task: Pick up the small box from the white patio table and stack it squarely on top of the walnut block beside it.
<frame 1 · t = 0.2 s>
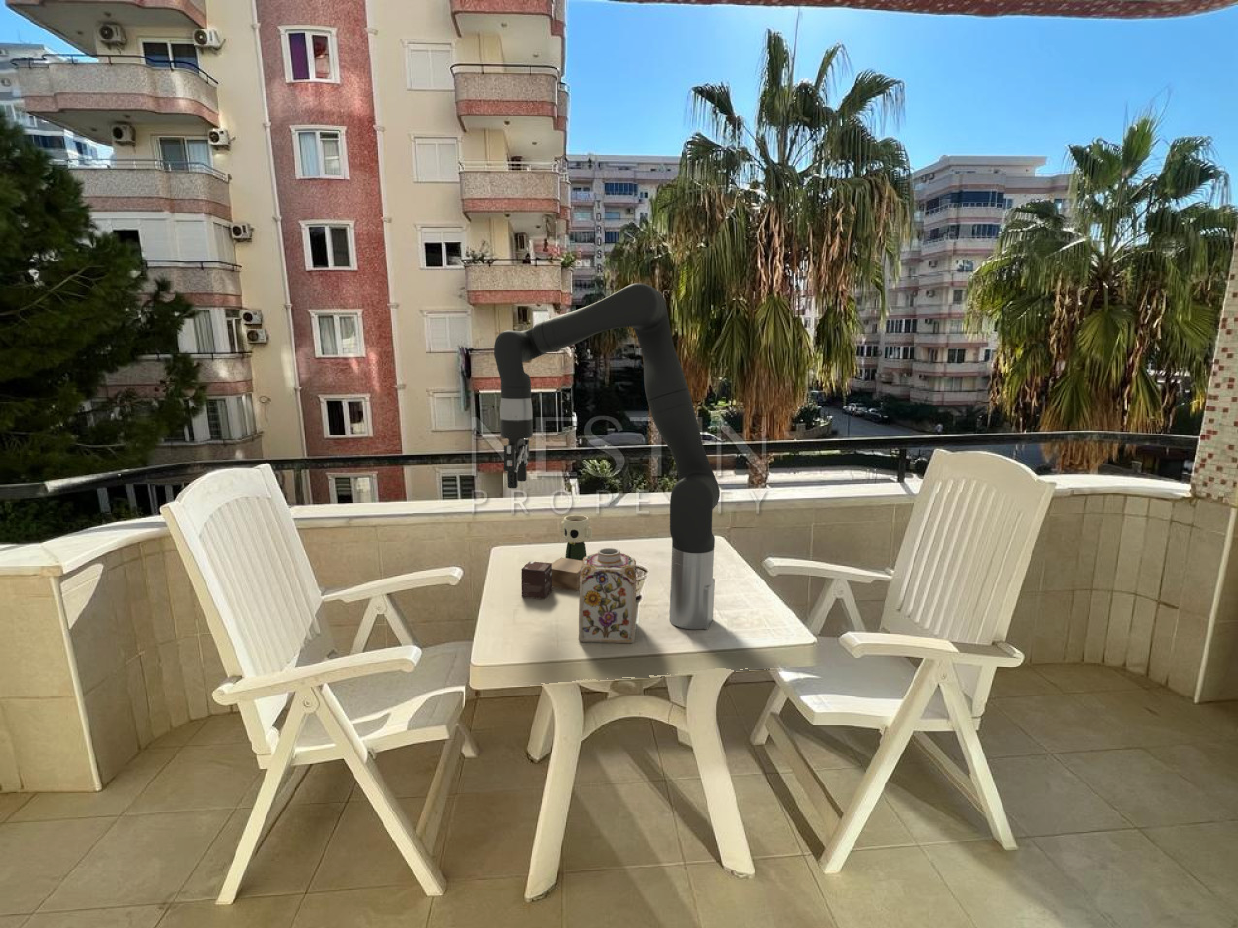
hand: (517, 484, 143), 27 cm above the table, tool pointing down, fingers open, 8 cm apart
character mug: (575, 562, 170), on the table
decorative jar: (607, 631, 127), on the table
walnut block: (568, 583, 155), on the table
box: (536, 594, 147), on the table
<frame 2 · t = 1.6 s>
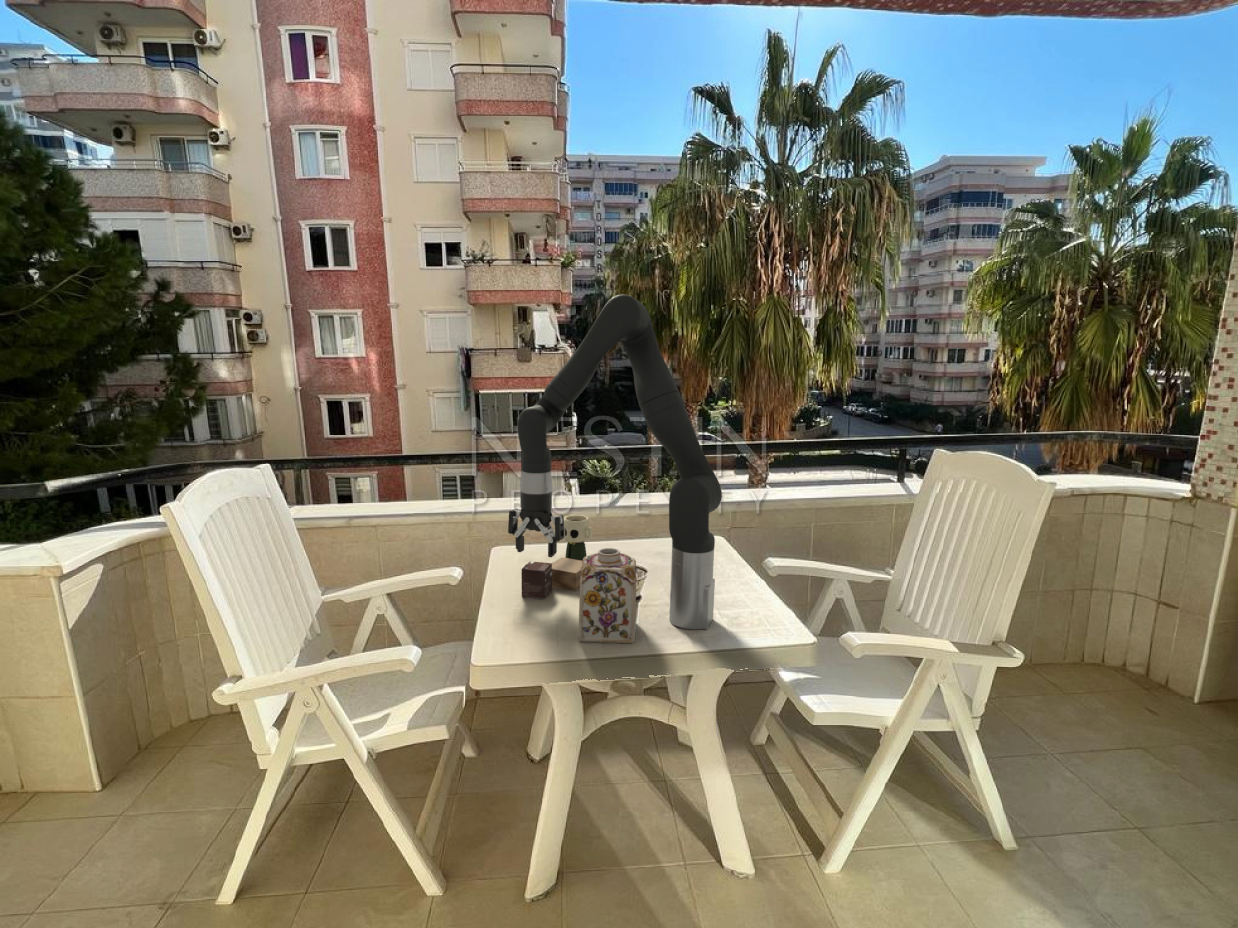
hand: (535, 553, 145), 10 cm above the table, tool pointing down, fingers open, 8 cm apart
nothing on the table moved.
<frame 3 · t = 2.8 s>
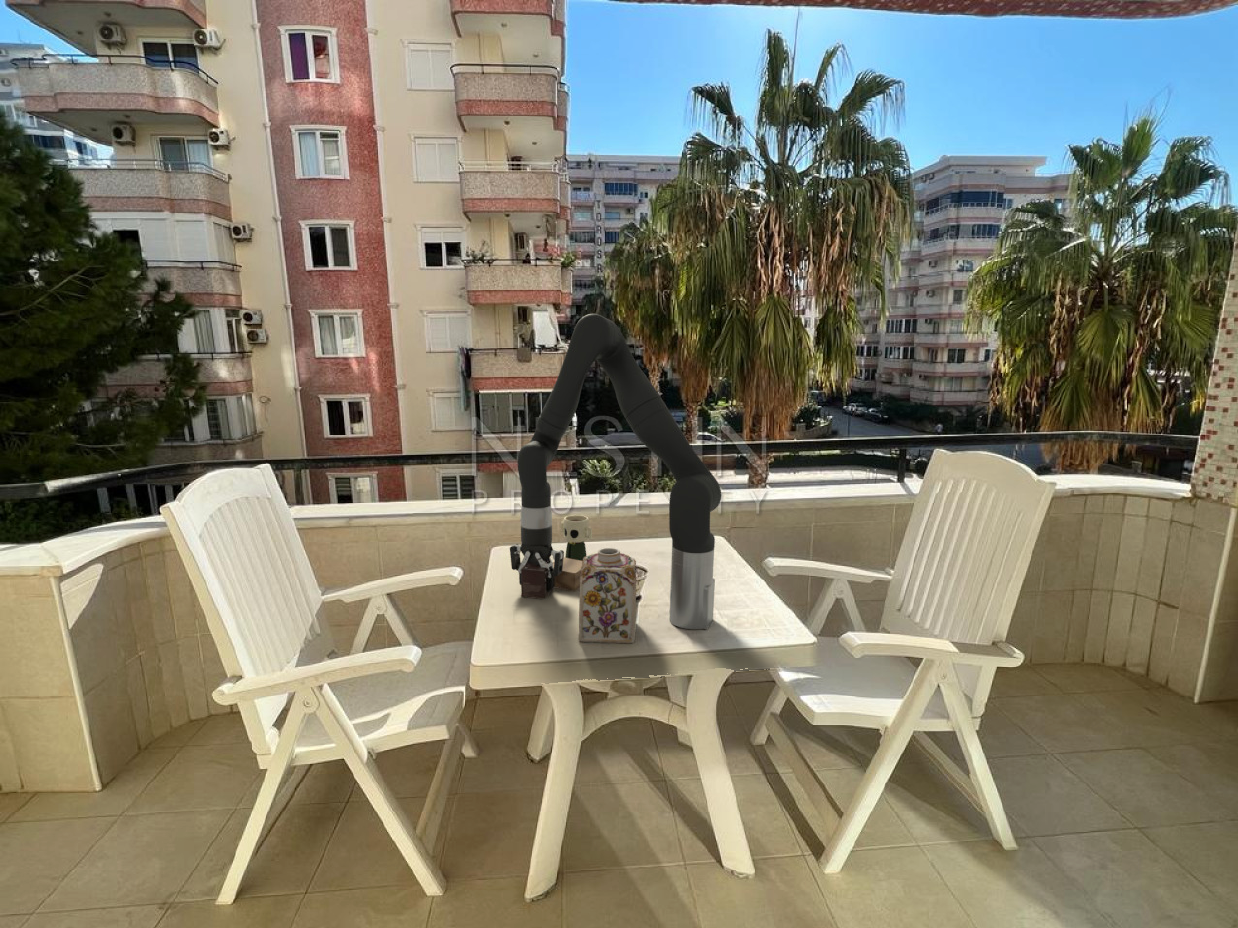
hand: (536, 588, 146), 1 cm above the table, tool pointing down, fingers closed on box, 6 cm apart
box: (536, 594, 147), on the table, touching gripper
everything else where it was.
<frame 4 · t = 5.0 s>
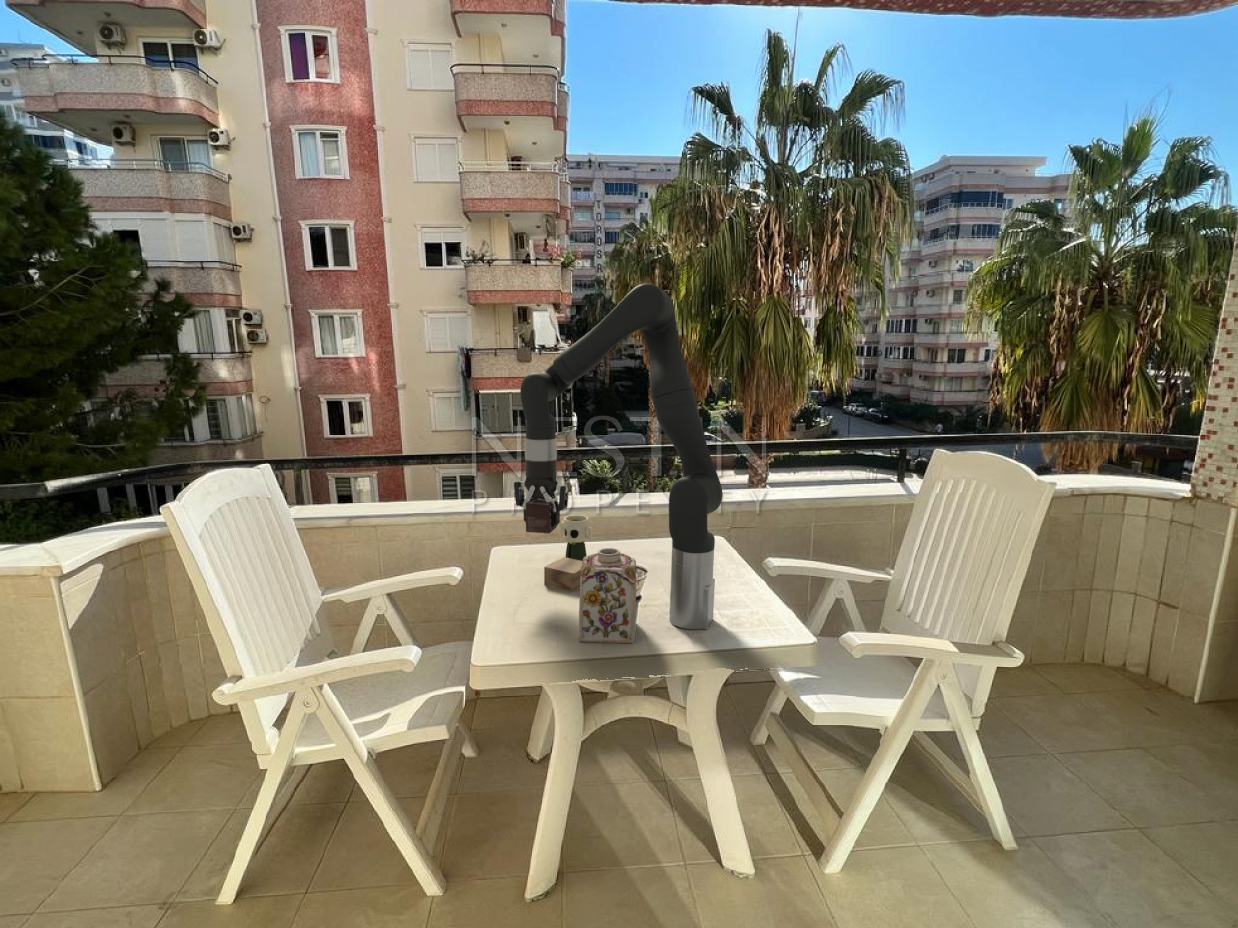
hand: (541, 524, 145), 17 cm above the table, tool pointing down, fingers closed on box, 6 cm apart
box: (541, 530, 145), point 16 cm above the table, touching gripper
everything else where it was.
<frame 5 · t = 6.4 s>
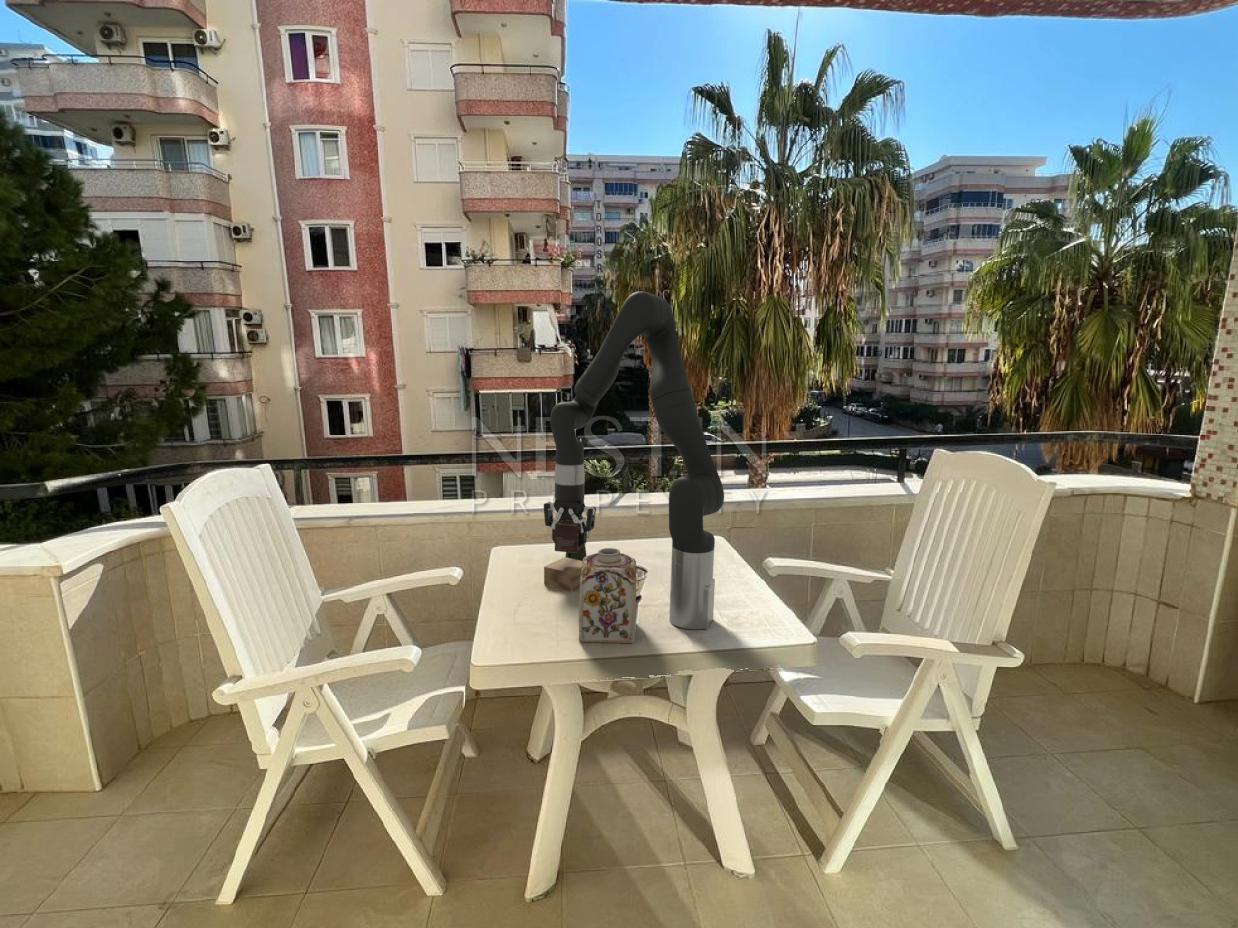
hand: (569, 543, 153), 10 cm above the table, tool pointing down, fingers closed on box, 6 cm apart
box: (568, 549, 153), point 9 cm above the table, touching gripper
everything else where it was.
when the fingers open (8 cm above the table, at t = 7.5 s): box drops 2 cm, point 4 cm above the table.
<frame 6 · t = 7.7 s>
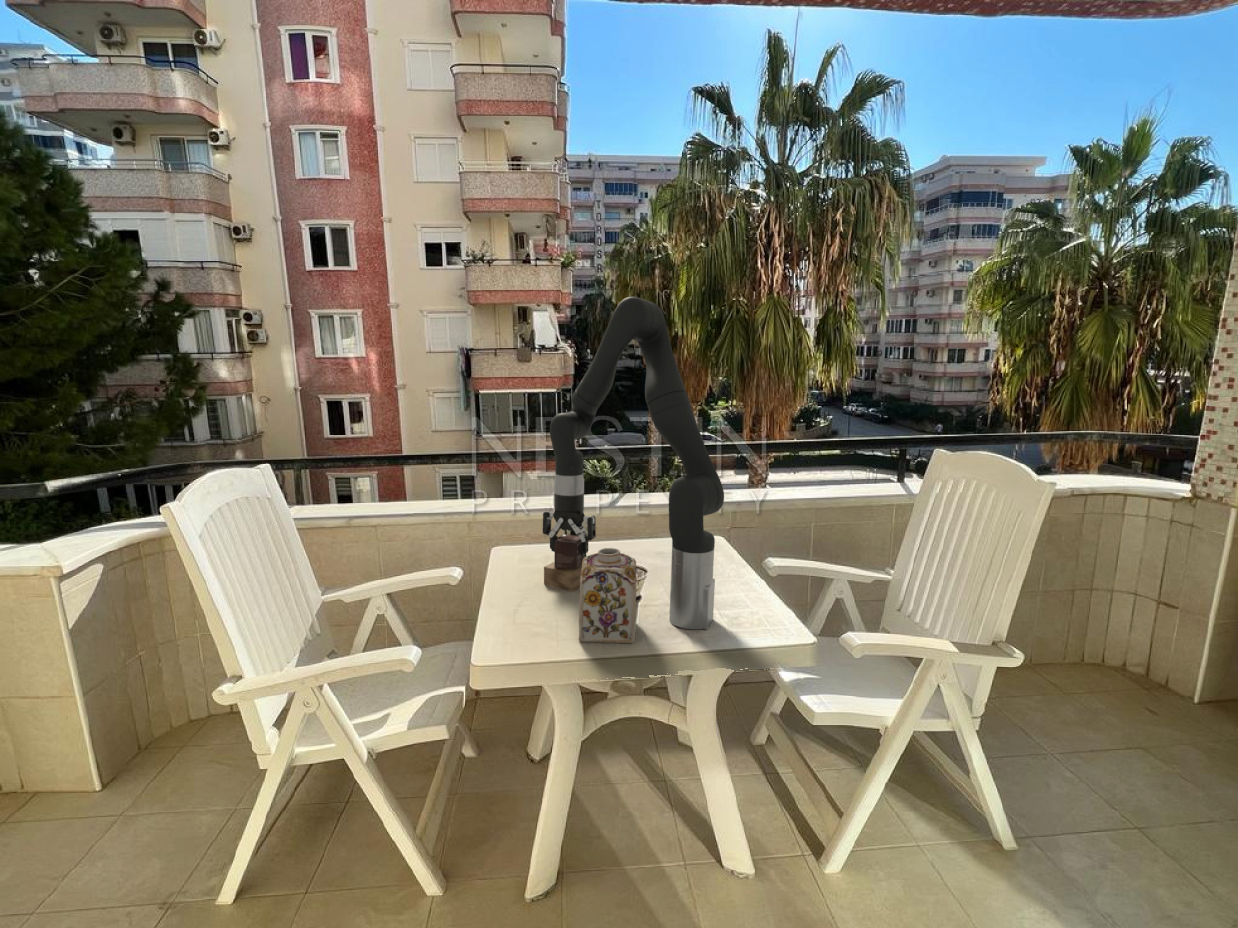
hand: (568, 552, 153), 8 cm above the table, tool pointing down, fingers open, 8 cm apart
box: (568, 566, 153), point 4 cm above the table
everything else where it was.
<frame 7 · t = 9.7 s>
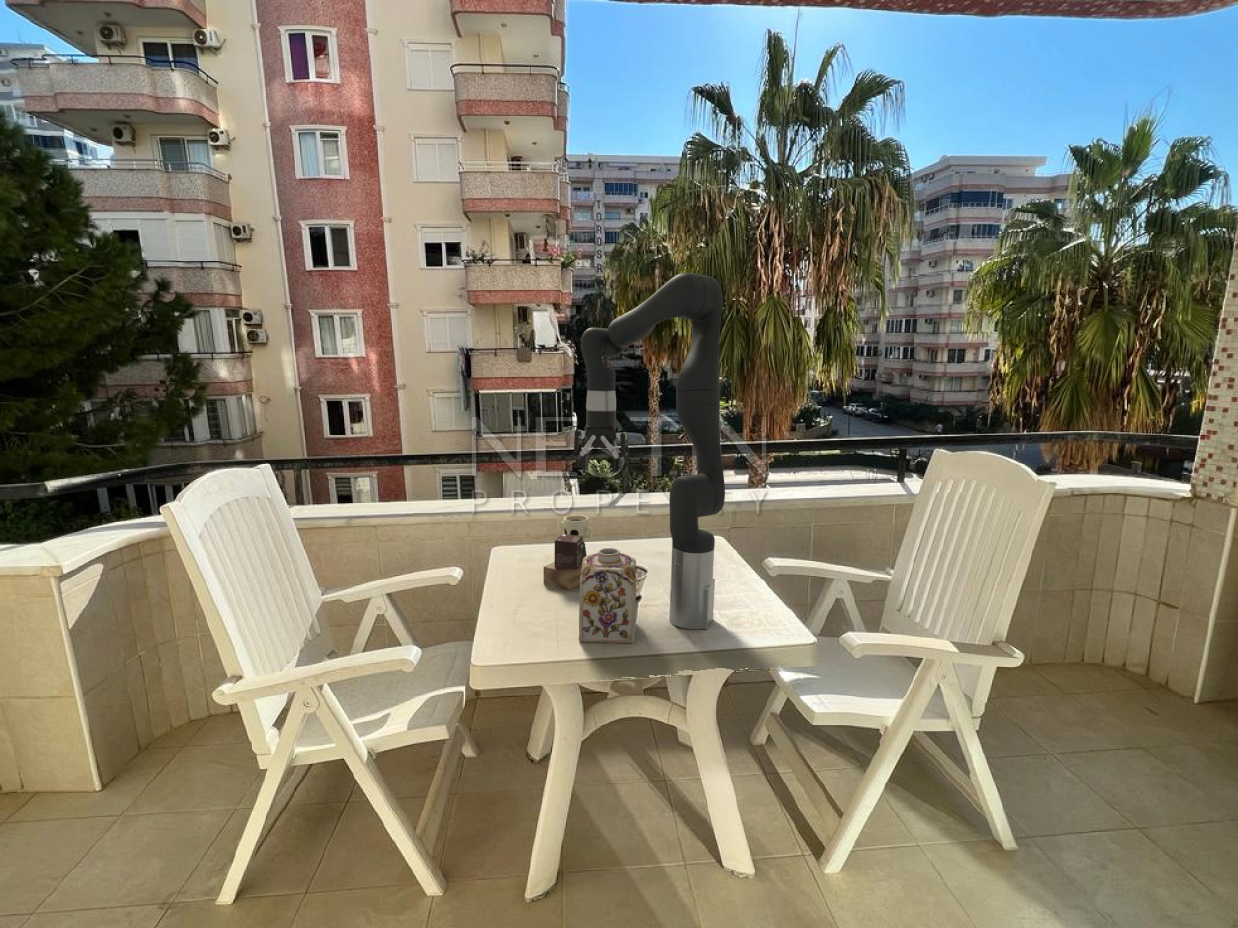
hand: (600, 471, 154), 29 cm above the table, tool pointing down, fingers open, 8 cm apart
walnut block: (568, 583, 154), on the table, touching box
box: (568, 565, 154), point 4 cm above the table, touching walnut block
everything else where it was.
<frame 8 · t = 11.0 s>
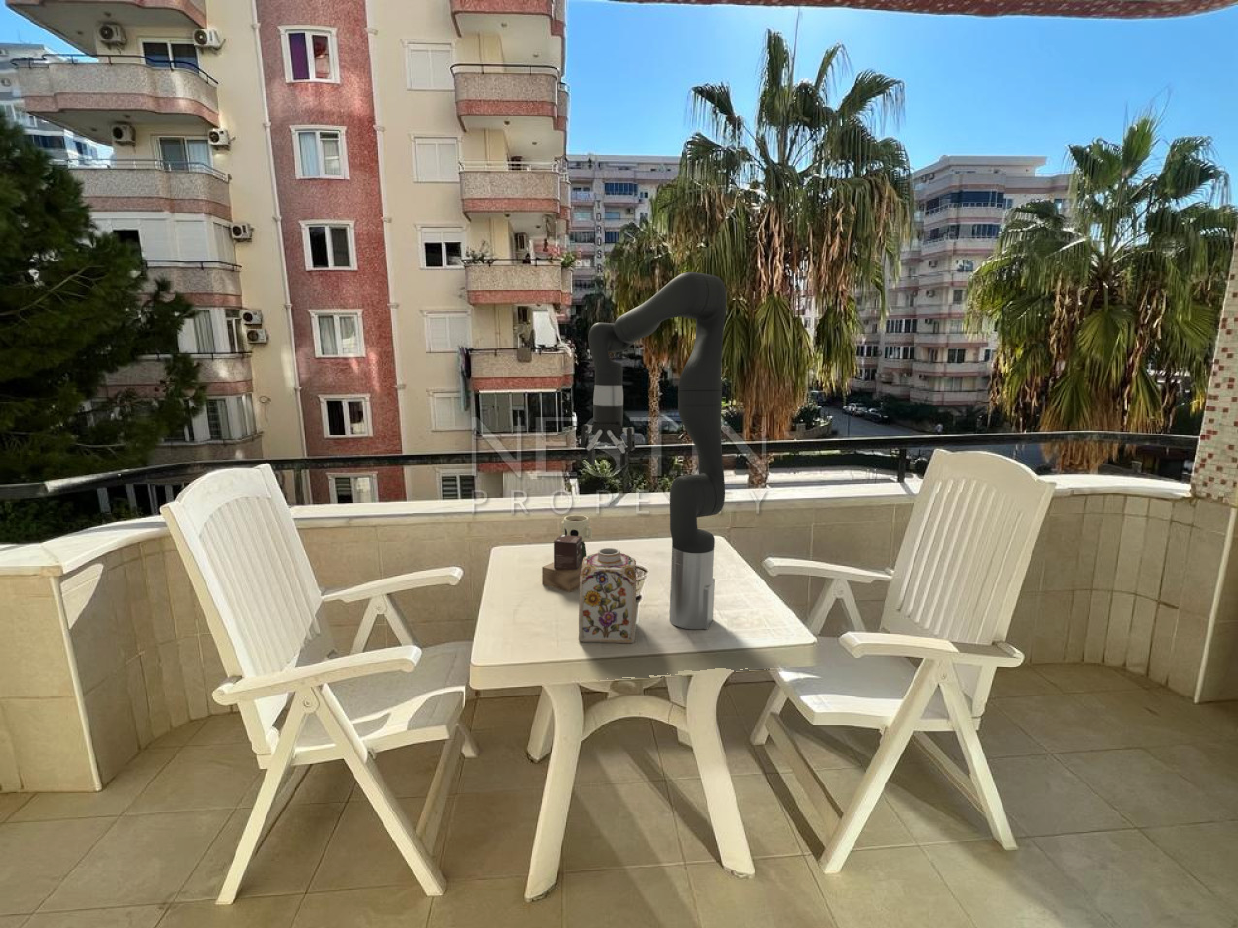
hand: (607, 465, 154), 30 cm above the table, tool pointing down, fingers open, 8 cm apart
nothing on the table moved.
at the end: box 0.2 cm off-centre on the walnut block, point 4.8 cm above the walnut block's base; box tilted 0°; the gripper is holding nothing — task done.
